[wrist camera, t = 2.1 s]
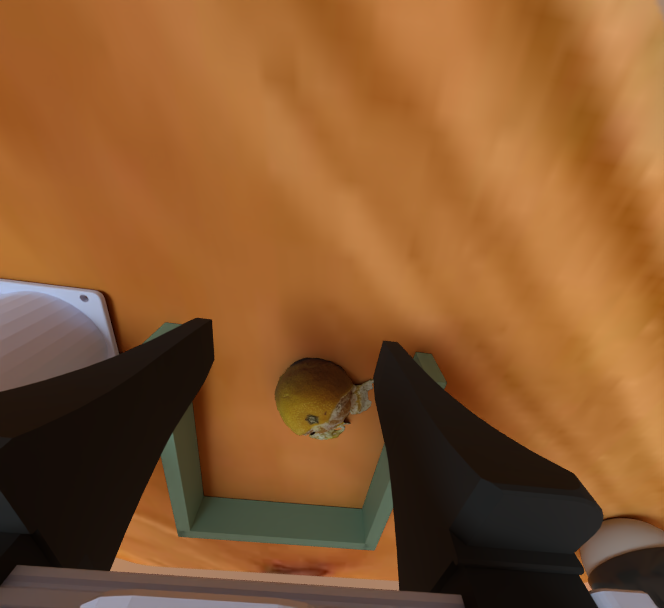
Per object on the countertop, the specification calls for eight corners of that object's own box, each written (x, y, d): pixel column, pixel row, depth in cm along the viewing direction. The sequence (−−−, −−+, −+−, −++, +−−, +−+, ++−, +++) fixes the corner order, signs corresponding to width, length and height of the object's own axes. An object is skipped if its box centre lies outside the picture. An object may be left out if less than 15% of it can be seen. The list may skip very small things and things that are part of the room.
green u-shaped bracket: (192, 501, 29) (178, 536, 26) (165, 322, 19) (137, 348, 16) (370, 516, 30) (374, 550, 27) (431, 354, 20) (446, 382, 17)
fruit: (330, 439, 25) (330, 481, 21) (254, 393, 22) (241, 432, 19) (399, 388, 22) (411, 426, 19) (321, 329, 19) (320, 361, 16)
